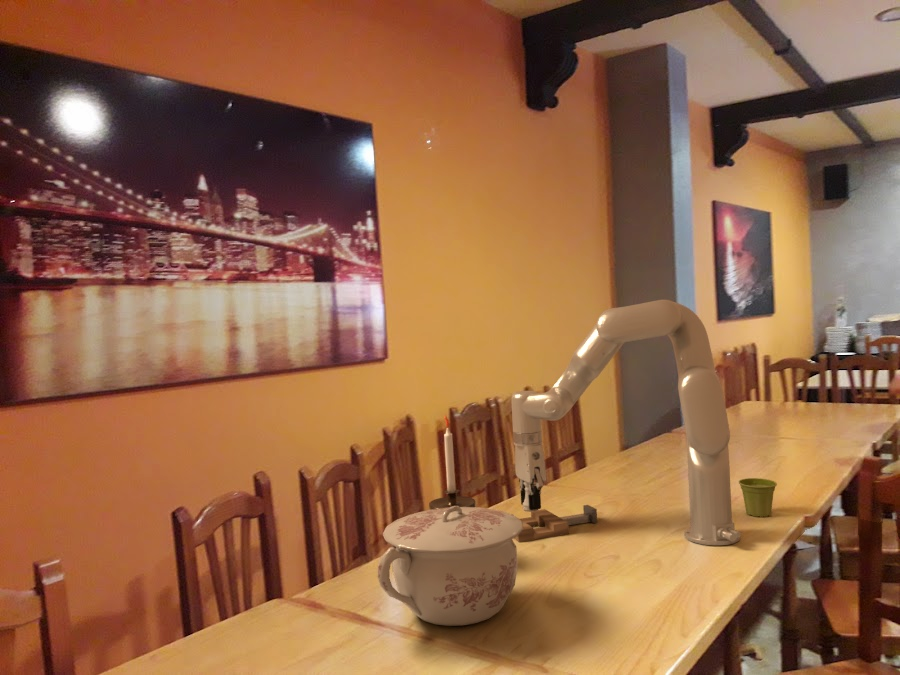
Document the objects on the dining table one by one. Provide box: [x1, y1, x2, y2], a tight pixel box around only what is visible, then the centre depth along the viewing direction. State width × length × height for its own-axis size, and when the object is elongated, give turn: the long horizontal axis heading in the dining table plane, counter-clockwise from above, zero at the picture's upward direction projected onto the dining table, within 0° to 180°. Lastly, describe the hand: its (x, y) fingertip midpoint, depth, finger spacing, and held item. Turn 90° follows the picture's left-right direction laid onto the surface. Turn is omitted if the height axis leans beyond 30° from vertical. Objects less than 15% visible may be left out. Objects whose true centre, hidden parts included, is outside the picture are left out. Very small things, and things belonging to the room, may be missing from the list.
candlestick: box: [428, 414, 477, 510], centre depth 161 cm, size 11×11×35 cm
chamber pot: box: [377, 506, 523, 627], centre depth 135 cm, size 28×28×21 cm
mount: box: [511, 508, 570, 543], centre depth 182 cm, size 14×14×3 cm
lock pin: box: [559, 504, 598, 526], centre depth 186 cm, size 5×11×4 cm, turn 108°
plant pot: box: [738, 477, 778, 518], centre depth 185 cm, size 9×9×9 cm
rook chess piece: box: [522, 480, 539, 513], centre depth 182 cm, size 4×4×8 cm
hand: (531, 506), depth 182 cm, fingers closed on rook chess piece, 4 cm apart
